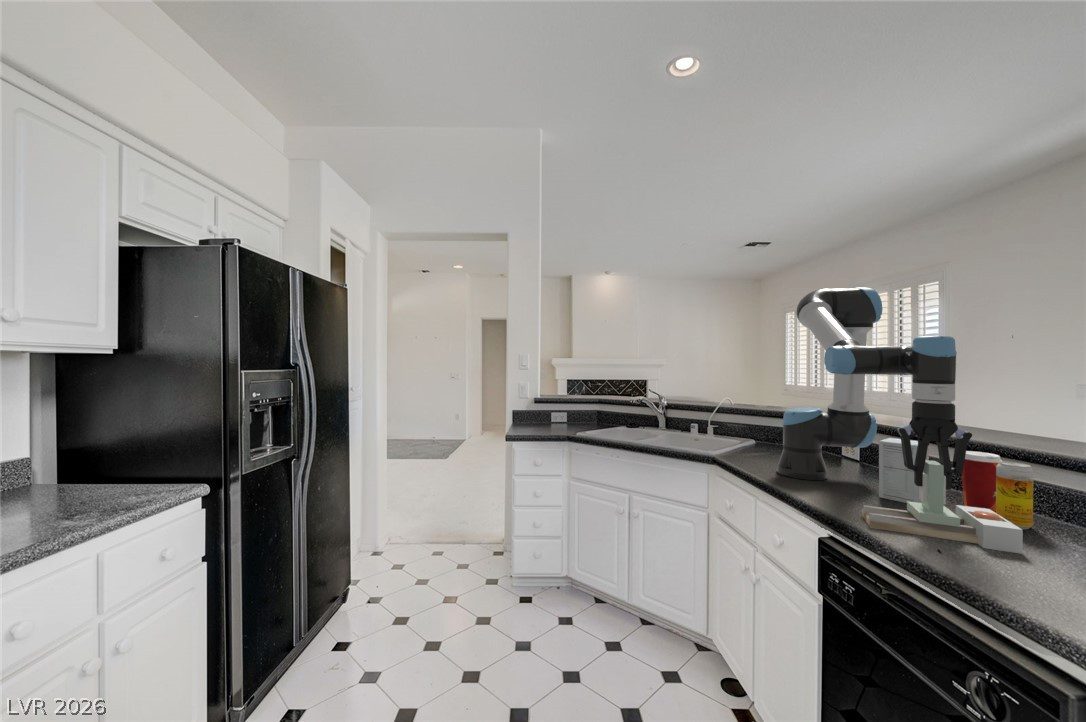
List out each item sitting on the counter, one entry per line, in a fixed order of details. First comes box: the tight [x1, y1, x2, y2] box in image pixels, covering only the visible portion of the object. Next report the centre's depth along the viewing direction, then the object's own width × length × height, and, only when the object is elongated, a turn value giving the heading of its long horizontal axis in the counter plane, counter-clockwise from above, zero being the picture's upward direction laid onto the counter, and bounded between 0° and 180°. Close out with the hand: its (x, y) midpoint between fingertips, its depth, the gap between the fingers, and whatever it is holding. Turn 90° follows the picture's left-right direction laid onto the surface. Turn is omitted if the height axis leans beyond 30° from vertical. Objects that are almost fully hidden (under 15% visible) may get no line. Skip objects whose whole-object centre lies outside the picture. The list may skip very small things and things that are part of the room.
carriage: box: [906, 460, 960, 527], centre depth 100 cm, size 9×7×13 cm
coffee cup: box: [961, 450, 1004, 513], centre depth 116 cm, size 8×8×15 cm
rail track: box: [861, 504, 979, 545], centre depth 101 cm, size 9×19×3 cm, turn 64°
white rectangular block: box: [955, 504, 1024, 554], centre depth 96 cm, size 14×6×5 cm, turn 154°
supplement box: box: [878, 437, 930, 504], centre depth 124 cm, size 10×9×17 cm
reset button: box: [974, 511, 1000, 521], centre depth 96 cm, size 4×4×4 cm
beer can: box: [995, 461, 1034, 530], centre depth 104 cm, size 6×6×15 cm
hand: (932, 501), depth 100 cm, fingers closed on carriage, 2 cm apart
